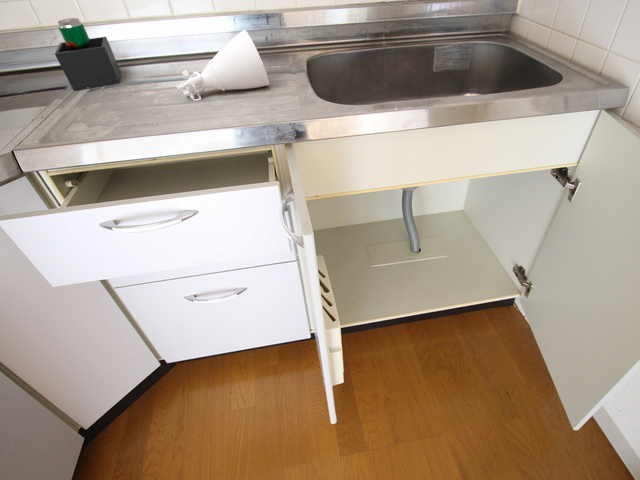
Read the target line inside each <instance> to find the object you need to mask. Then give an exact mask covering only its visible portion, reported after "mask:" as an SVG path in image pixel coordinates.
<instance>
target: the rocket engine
mask: <svg viewBox="0 0 640 480" xmlns="http://www.w3.org/2000/svg"><path fill="white" fill-rule="evenodd" d="M253 41H254V40H253V39H252V37H251V36H250V34H249V32H248V30H246V29H242V30H241V31H239V32H238V33H237V34H236V35H235V36H233V37H232V38H231V39H230V40H229V41H228V42H226V44H225V45H223V47H222V48H221V49H219V51H218V52H217V53H216V54H215V55H214V56H213V58H211V60H208V63H207V65H205V67H204V68H203V69H202V71H201V73H200V72H198V71H193V72H192V74H191V75H190V73H189V72H188V70H187V69H185V70H183V71H182V72H181V73H182V75H183V78H184V80H183V79H182V80H181V82H177V84H176V88H177V90H178V91H179V92H181V91H182V93H183V94H184V96H185V97H186V98H188V97H190V99H192V101H193V102H197V101H201V100H202V96H201V93H203V92H204V91H205V90H207V89H208V90H209V89H211V90H218V91H219V90H221V91H223V92H225V91H226V90H247V89H248V90H249V89H257V88H262V87H268V86H270V80H269V76H268V73H267V71H266V67H265V64H264V63H263V61H262V57H261V56H260V53H259V52H258V49H257V47H256V45H255V43H254V42H253ZM194 95H196V96H197V97H198V98H197V99H195V96H194Z"/></svg>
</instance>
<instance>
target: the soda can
mask: <svg viewBox="0 0 640 480" xmlns="http://www.w3.org/2000/svg"><path fill="white" fill-rule="evenodd" d="M57 24H58V26H57V27H58V30H59V32H60V35H61V36H62V38H63V40H64V41H63V42H65V43H66V45H67V47H68V49H69V51H73V50H81V49H88V48H93V45H92V43H91V41H90V39H91V38H90V36H89V34H88V32H87V30H86V28H85V25H84V24H83V23H82V22H81V21H80V18H77V17H70V18H63V19H60V20H58V21H57Z"/></svg>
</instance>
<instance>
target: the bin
mask: <svg viewBox="0 0 640 480" xmlns="http://www.w3.org/2000/svg"><path fill="white" fill-rule="evenodd" d="M89 39H90V41H91V43H92V45H93V48H88V49H81V50H73V51H69V49H68V47H67V45H66V43H65V41H62V42H59V44H58V46H57V48H56V50H55V52H54V56H55V57H56V59H57V61H58V64H59V65H60V67H61V69H62V71H63V73H64V75H65V77H66V80H67V81H68V84H69V85H70V87H71V89H72V91H74V90H75V91H77V90H76V89H81V88H87V87H90V88H89V89H93V88H99V87H104V86H110V85H117V84H120V83H121V69H120V67H119V64H118V62H117V59H116V56H115V54H114V52H113V50H112V47H111V45H110V43H109V40H108V38H107V36H101V37H94V38H89ZM87 89H88V88H87ZM81 90H82V89H81Z"/></svg>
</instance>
